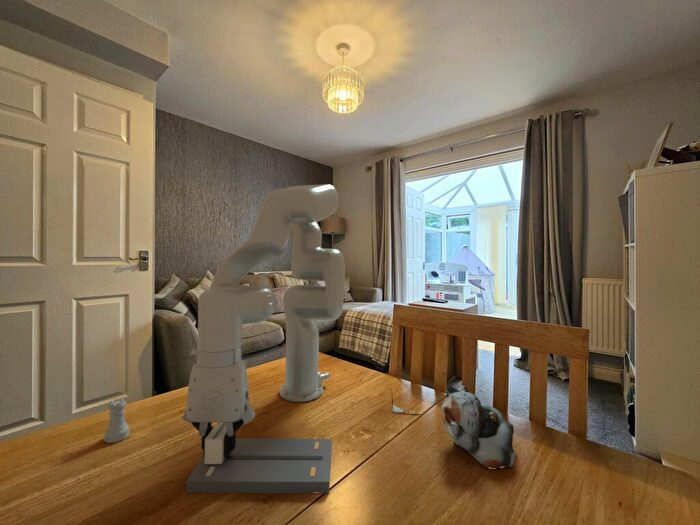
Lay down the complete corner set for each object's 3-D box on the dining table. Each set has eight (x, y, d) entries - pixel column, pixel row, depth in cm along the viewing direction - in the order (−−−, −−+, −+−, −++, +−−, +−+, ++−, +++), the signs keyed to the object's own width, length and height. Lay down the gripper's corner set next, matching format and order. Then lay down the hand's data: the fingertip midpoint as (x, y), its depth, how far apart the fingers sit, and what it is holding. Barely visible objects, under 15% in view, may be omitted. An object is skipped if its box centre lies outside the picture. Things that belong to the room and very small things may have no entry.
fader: (204, 463, 54) (204, 438, 54) (216, 446, 59) (216, 422, 59) (221, 464, 54) (221, 438, 54) (231, 446, 59) (232, 422, 59)
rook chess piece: (115, 445, 63) (115, 407, 63) (98, 442, 64) (98, 404, 63) (134, 433, 67) (135, 397, 67) (118, 430, 68) (118, 395, 68)
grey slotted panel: (186, 492, 51) (186, 480, 51) (216, 447, 63) (216, 437, 63) (329, 493, 51) (329, 481, 51) (331, 448, 63) (331, 438, 63)
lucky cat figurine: (514, 482, 55) (479, 415, 54) (453, 478, 62) (422, 419, 62) (520, 422, 67) (491, 367, 66) (468, 425, 74) (442, 375, 74)
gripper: (163, 362, 52) (162, 466, 53) (258, 363, 53) (256, 467, 53) (186, 349, 60) (185, 440, 60) (269, 350, 60) (267, 441, 61)
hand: (218, 452), depth 57 cm, fingers closed on fader, 3 cm apart
